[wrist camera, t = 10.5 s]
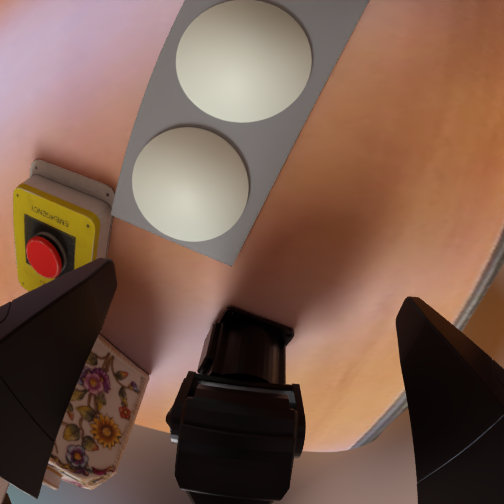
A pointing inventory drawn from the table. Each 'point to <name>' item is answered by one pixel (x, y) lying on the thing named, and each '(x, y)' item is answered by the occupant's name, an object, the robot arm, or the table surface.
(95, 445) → the decorative jar
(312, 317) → the table surface
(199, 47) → the panel
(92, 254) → the emergency button
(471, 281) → the table surface
